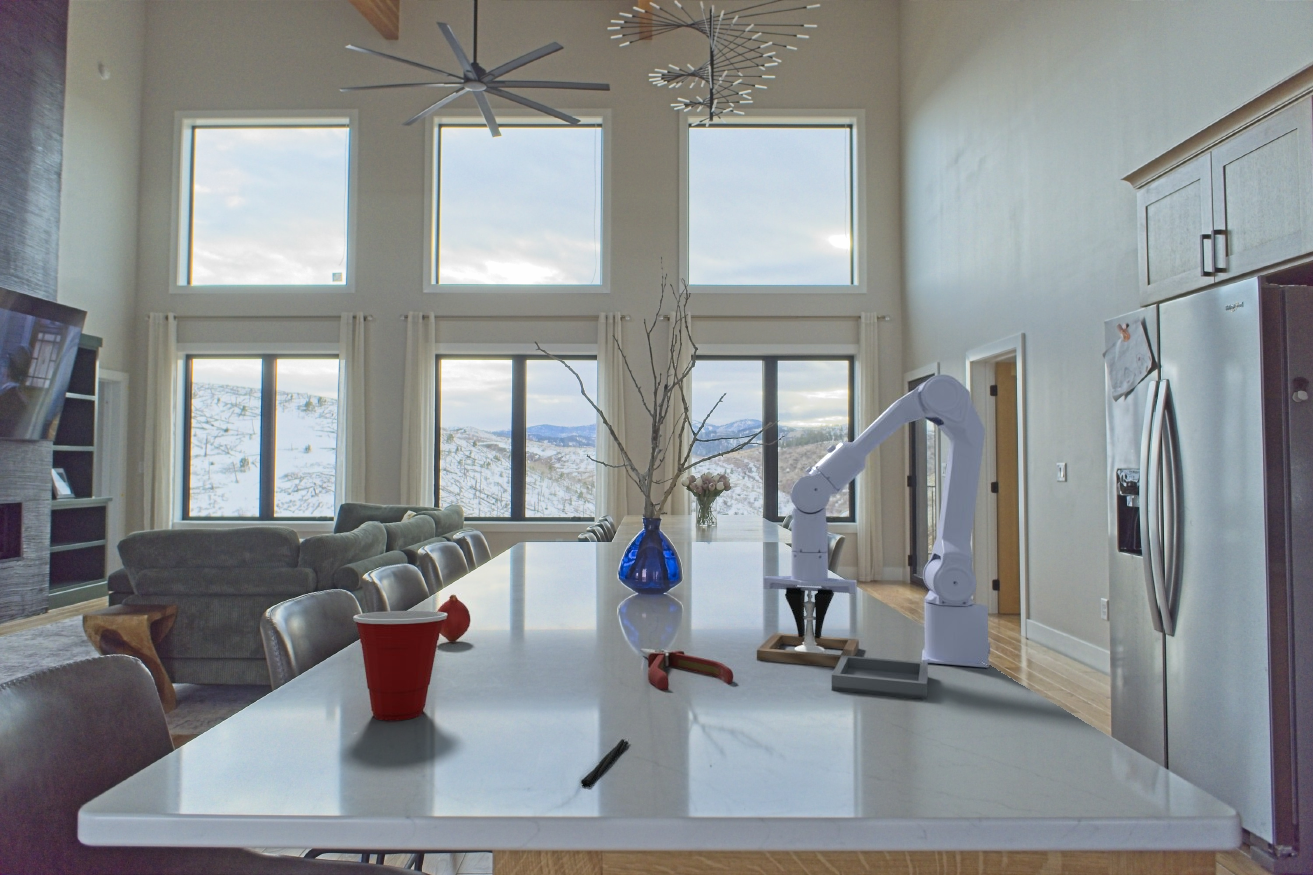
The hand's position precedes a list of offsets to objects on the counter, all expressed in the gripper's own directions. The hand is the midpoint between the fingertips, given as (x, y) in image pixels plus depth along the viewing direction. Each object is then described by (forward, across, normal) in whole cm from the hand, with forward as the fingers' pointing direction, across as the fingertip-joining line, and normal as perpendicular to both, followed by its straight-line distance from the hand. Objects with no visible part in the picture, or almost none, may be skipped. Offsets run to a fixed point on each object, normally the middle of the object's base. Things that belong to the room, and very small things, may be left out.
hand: (809, 636), depth 127 cm
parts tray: (+3, +12, -14) cm, 19 cm away
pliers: (+3, -16, -17) cm, 23 cm away
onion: (+3, -58, -14) cm, 59 cm away
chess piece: (+3, 0, 0) cm, 3 cm away
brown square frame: (+3, 0, 0) cm, 3 cm away
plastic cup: (+3, -41, -49) cm, 64 cm away
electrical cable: (+3, -12, -55) cm, 56 cm away
